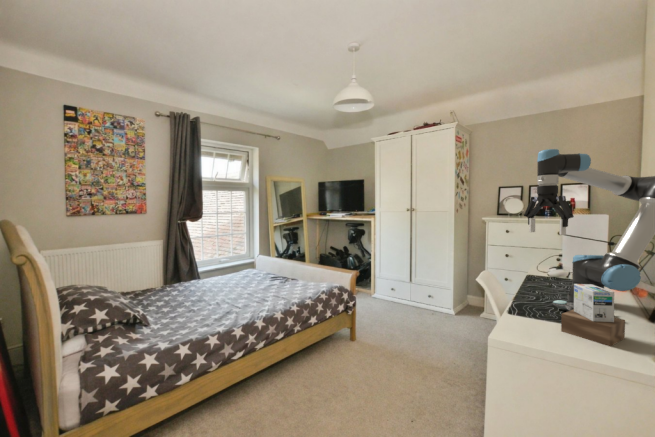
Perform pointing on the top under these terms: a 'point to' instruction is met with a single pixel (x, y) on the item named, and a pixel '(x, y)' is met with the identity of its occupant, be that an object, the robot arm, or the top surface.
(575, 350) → the top surface
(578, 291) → the light bulb box
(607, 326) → the walnut block
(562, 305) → the toy aircraft
